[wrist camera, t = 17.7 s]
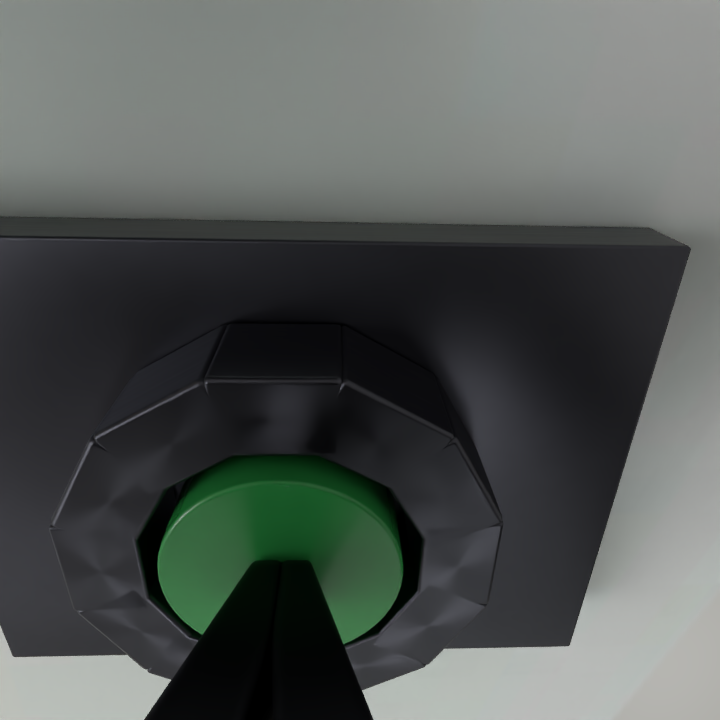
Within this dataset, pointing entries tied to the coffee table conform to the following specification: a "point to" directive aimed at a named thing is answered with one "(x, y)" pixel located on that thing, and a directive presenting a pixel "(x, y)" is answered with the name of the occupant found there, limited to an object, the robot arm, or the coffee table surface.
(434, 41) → the coffee table surface
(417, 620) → the control block
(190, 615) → the button
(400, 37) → the coffee table surface
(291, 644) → the robot arm
